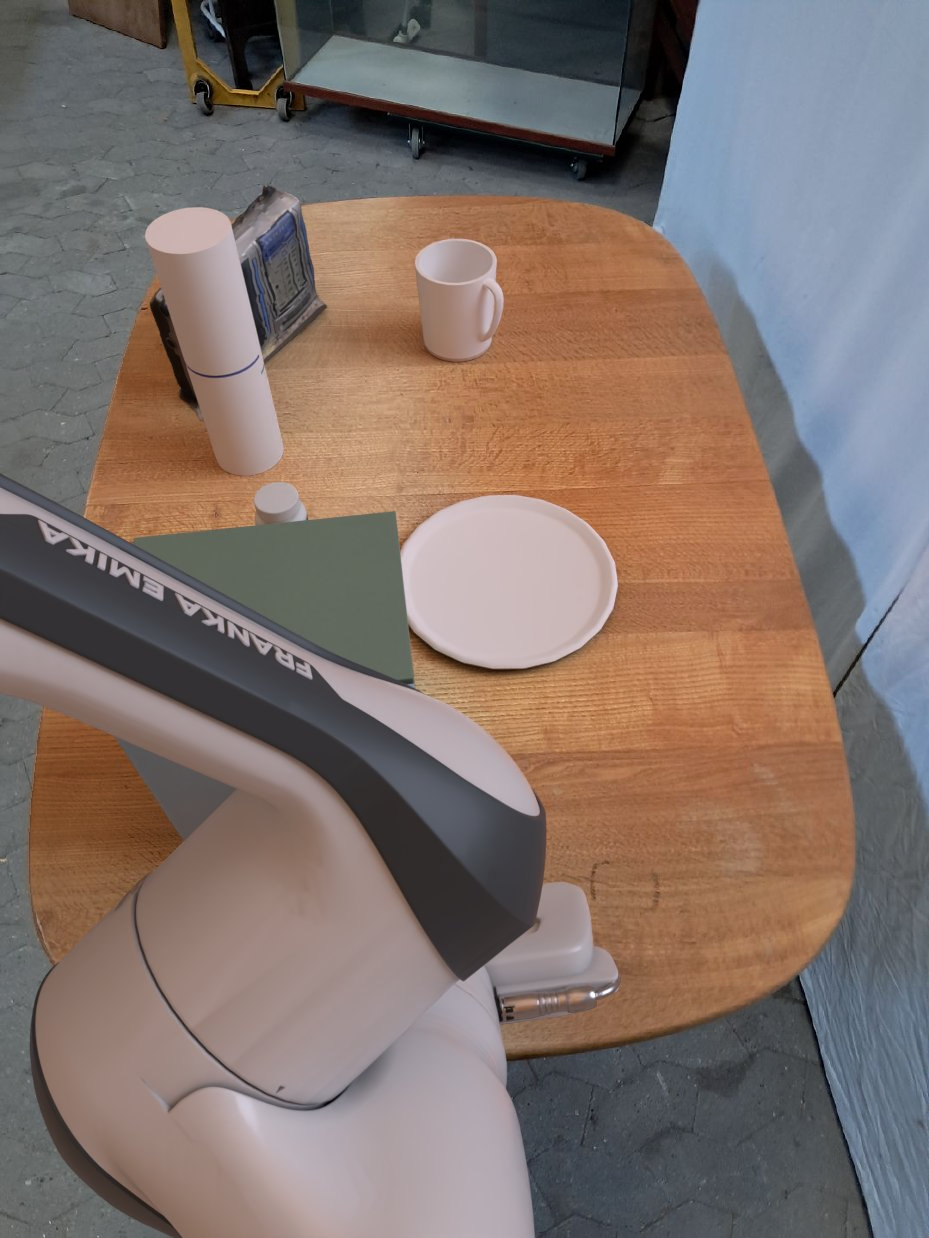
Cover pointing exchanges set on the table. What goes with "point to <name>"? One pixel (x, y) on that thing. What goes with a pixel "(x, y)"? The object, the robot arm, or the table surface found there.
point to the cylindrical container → (217, 336)
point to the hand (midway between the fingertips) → (398, 892)
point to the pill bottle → (278, 504)
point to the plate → (507, 582)
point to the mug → (458, 298)
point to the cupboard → (310, 581)
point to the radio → (260, 281)
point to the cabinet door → (179, 788)
